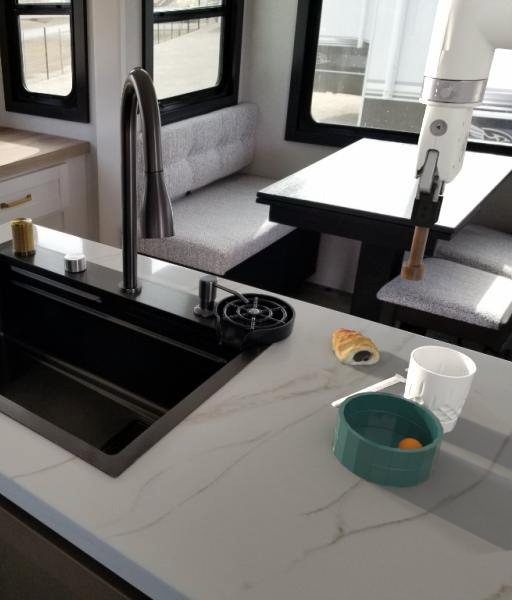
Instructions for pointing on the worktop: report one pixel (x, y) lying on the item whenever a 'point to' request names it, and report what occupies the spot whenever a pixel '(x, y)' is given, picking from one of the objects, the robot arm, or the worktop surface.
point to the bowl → (386, 438)
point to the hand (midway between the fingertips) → (423, 222)
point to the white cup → (440, 382)
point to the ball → (409, 444)
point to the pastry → (354, 348)
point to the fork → (376, 387)
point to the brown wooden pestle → (416, 256)
